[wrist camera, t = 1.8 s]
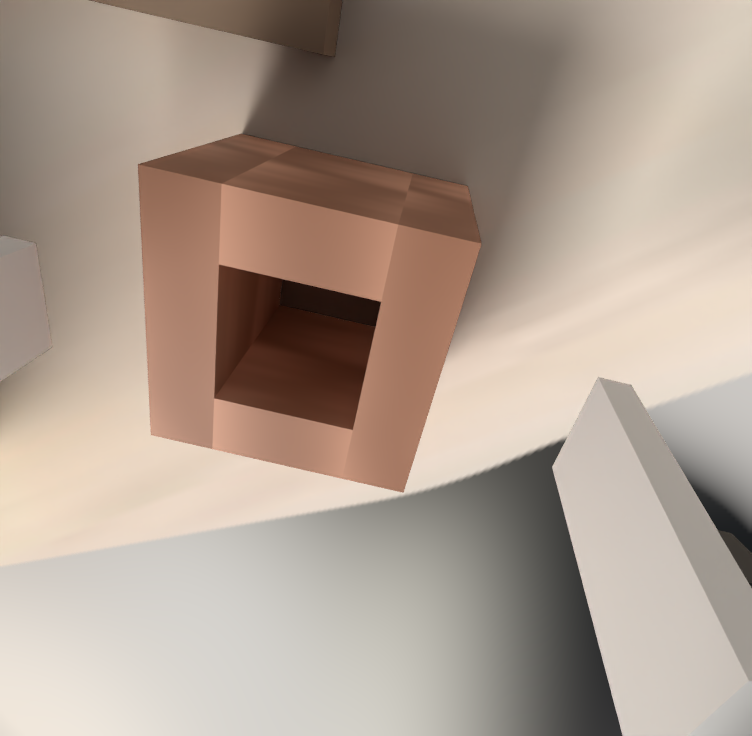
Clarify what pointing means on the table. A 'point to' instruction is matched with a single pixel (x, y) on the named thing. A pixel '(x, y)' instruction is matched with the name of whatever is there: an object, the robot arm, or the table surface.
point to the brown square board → (255, 19)
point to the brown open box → (294, 326)
